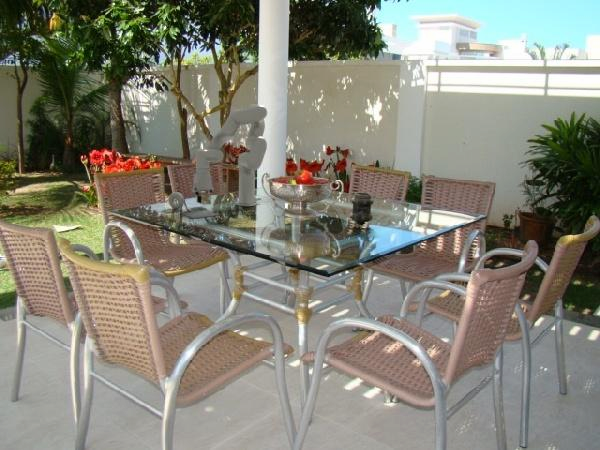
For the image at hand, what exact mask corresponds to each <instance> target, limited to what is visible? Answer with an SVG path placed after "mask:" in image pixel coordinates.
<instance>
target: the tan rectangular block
mask: <svg viewBox="0 0 600 450" xmlns="http://www.w3.org/2000/svg"><path fill="white" fill-rule="evenodd" d="M211 194H212V193H210V194H209V193H207V192H206V191H201V194H200V196H201V203H199V202H198V201H197V195H196V194H195V195H196V196H195V197H196V199H195V200H196V203H198V204H201V205H203V206H204V205H205V206H206V205H211V204H212V203H211V202H212V201H211V197H212V196H211Z"/></svg>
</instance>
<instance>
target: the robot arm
mask: <svg viewBox="0 0 600 450" xmlns="http://www.w3.org/2000/svg"><path fill="white" fill-rule="evenodd" d="M267 115H268V111H267V108H266V106H264V105H262V104H254V103H252V104H251V103H250V104H249V105H248V106H247V107H246V108H245V109H238V108H237V109H236V108H234V109H233V110H232V111H231V112H230V113H229V115H228V117H227V118H226V121H224V123H223V125H222V127H221V129H220V130H219V131H218V132H217V133H216V134H215V135H214V136H213V137H212V139H211V140H210V141H209V143H208V145H207V147H206V148H204V149H203V148H199V149H196V150H195V173H194V175H193V187H192V189H191V192H192V193H194V194H195V195H197V201H198V202H199V203H198V204H200V203H201V196H200V194H201V192H202V191H204V192H207V193H209V194H212V192H213V191H214V190H215V186H214V185H213V180H212V175H211V173H210V171H212V168H211V167H210V162H211V163H220V162H222V160H223V159H224V152H222V150H220V149H221V148H222V147H223V145H224V144H226V143H227V142H229V141H230V140H233V139H234V137H235V136H236V134H237V132H238V131H239V129H240V127H241V126H245V125H249V124H250V127H249V131H248V133H247V137H246V140H245V142H244V145H245V147H246V149H247V150H248V151H246V152H245V151H244V152H242V153H241V154H240V155H239V156H238V158H237V165H238V201H236V202H235V204H236V205H237V206H240V207H241V206H242V207H252V206H257V205H258V202H257V201H261V200H262V197H261V196H260V197H259V196H258V197H256V196H255V193H256V190H255V189H256V188H255V186H256V183H255V182H256V174H255V173H256V172H255V171H257V170H258V169H259V168H260V167H261V165H262V164H263V160H264V158H265V155H266V152H267V148H268V143H267V140H266V139H265V138H264V137H263V136H264V132H265V130H266V129H265V127H266V125H265V124H266V122H265V120H264V119H265V118H266V117H267Z"/></svg>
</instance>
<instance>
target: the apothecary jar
mask: <svg viewBox="0 0 600 450" xmlns="http://www.w3.org/2000/svg"><path fill="white" fill-rule="evenodd" d="M350 202H351V204H352V211H351V212H350V214H349V218H350V219H351V220H352V221H354V222H355V223H357V224H359V225H363V224H366V223H369V222H371V221H372V220H373V217H374V215H373V214H372V212H371V211H372V205H373V204H374V199H373V198H372V194H371V193H369V192H363V191H361V192H360V191H359V192H358V191H357V192H354V196H353V197H352V198H351V199H350Z"/></svg>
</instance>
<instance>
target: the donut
mask: <svg viewBox="0 0 600 450" xmlns="http://www.w3.org/2000/svg"><path fill="white" fill-rule="evenodd" d="M175 199H177V203H176V201H175ZM168 204H169V206H170V208H172V209H173V210H180V209H181V208H182V207H184V204H185V198H184V196H183V194H181V193H180V192H178V191H173V192H171V194H169V197H168Z"/></svg>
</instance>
